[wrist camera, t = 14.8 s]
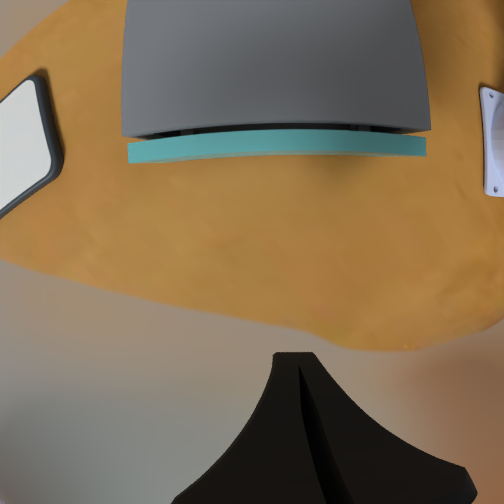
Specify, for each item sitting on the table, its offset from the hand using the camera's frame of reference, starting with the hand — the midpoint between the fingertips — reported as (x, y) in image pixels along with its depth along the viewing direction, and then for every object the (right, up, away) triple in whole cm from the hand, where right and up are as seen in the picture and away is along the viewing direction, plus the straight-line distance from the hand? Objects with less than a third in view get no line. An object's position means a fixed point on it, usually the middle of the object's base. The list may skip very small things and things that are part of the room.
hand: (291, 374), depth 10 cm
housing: (0, +16, +5) cm, 17 cm away
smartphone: (-23, +11, +7) cm, 26 cm away
